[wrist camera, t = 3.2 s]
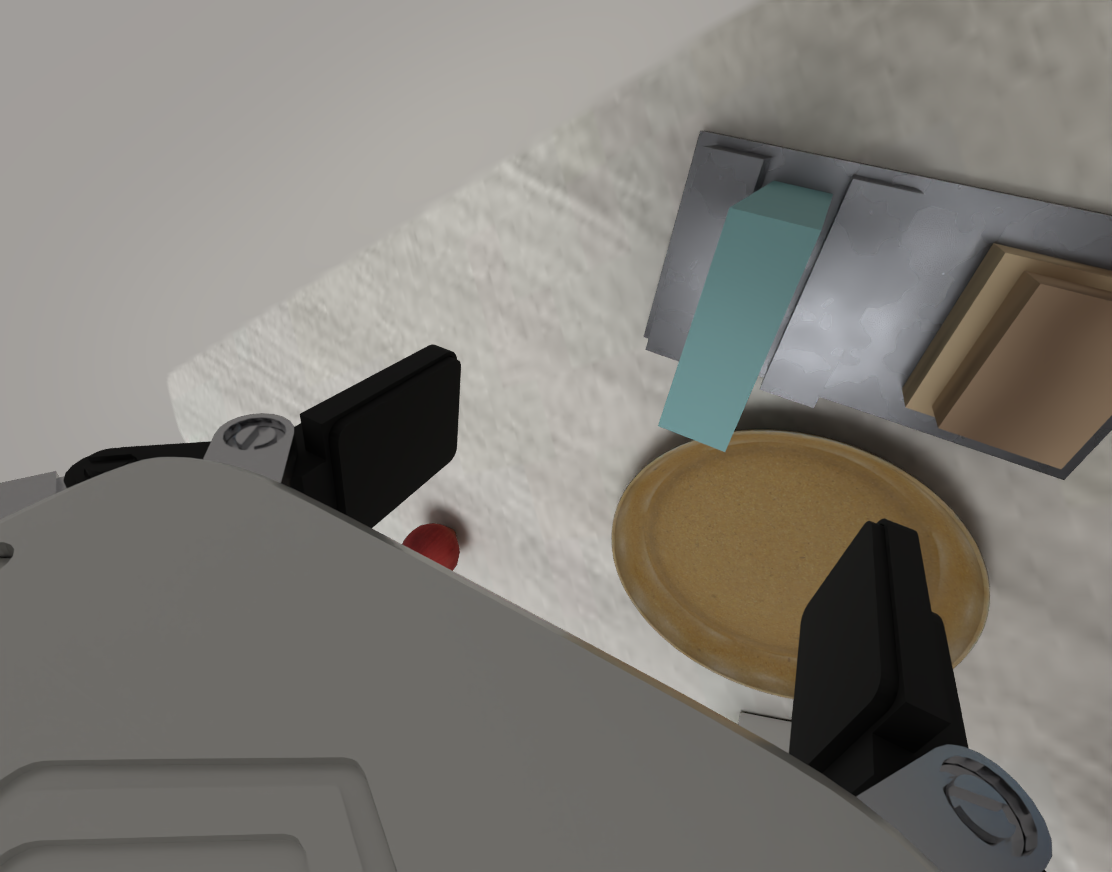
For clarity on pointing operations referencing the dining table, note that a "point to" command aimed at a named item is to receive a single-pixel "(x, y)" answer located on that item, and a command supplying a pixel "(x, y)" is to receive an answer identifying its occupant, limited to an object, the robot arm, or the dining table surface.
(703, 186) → the rack
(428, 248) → the dining table surface
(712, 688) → the dining table surface
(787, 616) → the plant saucer
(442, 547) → the onion
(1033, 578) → the dining table surface
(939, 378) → the offcut low
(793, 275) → the teal board
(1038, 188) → the dining table surface
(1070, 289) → the offcut high
